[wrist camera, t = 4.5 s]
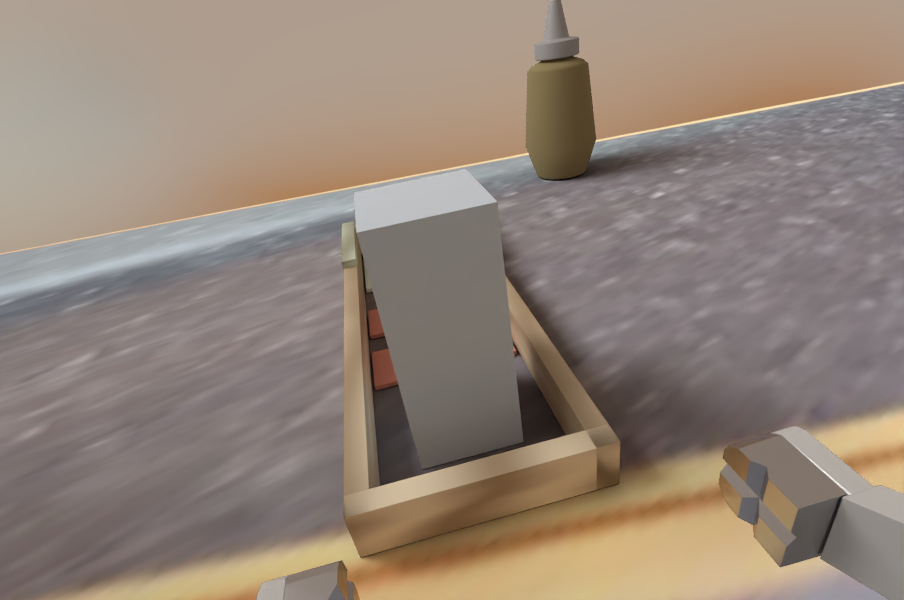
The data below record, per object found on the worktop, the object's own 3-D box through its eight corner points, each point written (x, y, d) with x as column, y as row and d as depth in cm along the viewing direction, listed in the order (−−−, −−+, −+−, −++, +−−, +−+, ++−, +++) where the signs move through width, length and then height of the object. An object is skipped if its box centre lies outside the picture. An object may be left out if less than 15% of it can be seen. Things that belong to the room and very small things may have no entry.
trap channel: (359, 557, 19) (338, 508, 17) (350, 251, 46) (342, 222, 45) (620, 483, 20) (621, 430, 18) (459, 227, 47) (455, 197, 46)
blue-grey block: (421, 469, 22) (356, 232, 16) (409, 399, 26) (353, 192, 20) (523, 441, 23) (497, 201, 17) (495, 377, 27) (465, 169, 21)
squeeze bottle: (530, 166, 62) (519, 7, 53) (595, 160, 60) (594, -7, 51) (524, 186, 55) (510, 8, 46) (597, 181, 53) (597, -8, 44)
